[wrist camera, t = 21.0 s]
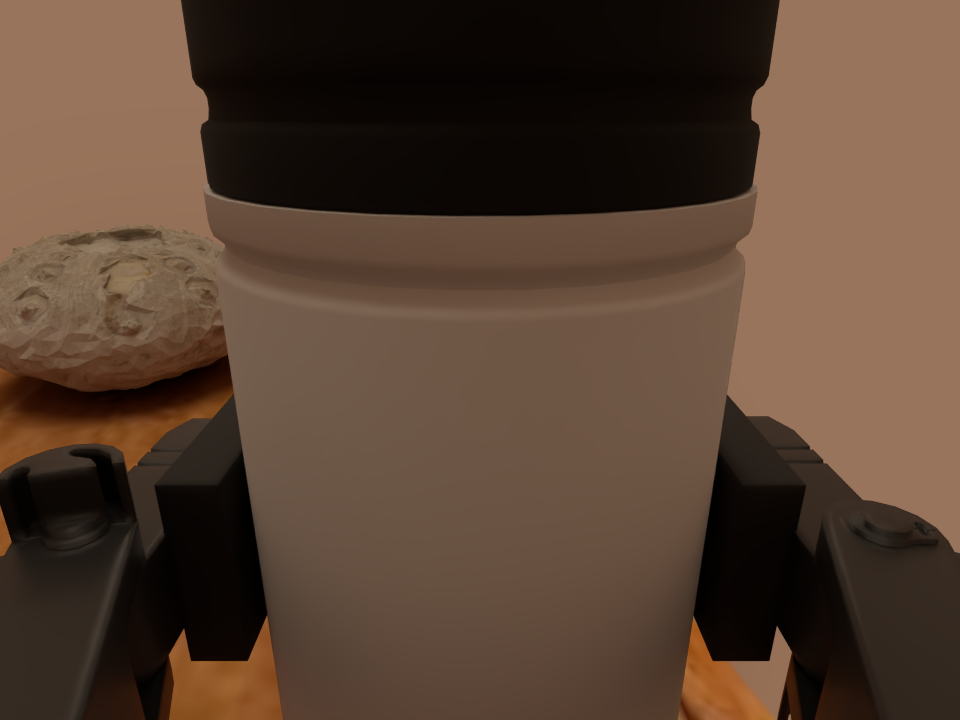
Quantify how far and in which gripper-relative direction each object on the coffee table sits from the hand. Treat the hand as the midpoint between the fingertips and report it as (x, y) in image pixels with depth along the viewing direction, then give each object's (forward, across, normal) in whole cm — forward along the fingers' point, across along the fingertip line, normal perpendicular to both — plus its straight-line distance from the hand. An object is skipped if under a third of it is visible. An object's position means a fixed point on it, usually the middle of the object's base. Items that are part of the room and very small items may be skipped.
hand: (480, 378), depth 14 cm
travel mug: (-5, 0, -12) cm, 13 cm away
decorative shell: (+31, -25, -12) cm, 42 cm away
